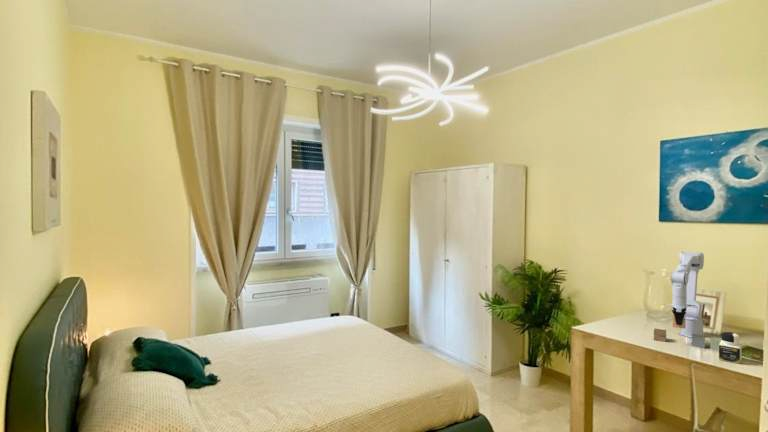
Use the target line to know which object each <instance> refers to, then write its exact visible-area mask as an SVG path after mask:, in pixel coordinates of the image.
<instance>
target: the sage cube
mask: <svg viewBox="0 0 768 432" xmlns="http://www.w3.org/2000/svg"><path fill="white" fill-rule="evenodd" d="M709 341H710V342H709V343H710V351H714V352H715V351H717V352H719V344H720V342H721V341H722V337H714V336H710V340H709Z"/></svg>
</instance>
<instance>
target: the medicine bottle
mask: <svg viewBox="0 0 768 432" xmlns="http://www.w3.org/2000/svg"><path fill="white" fill-rule="evenodd" d="M721 338H722V341H721V342H720V344H719V351H718V360H719V361H723V362H729V363H732V364H738V365H740V364H741V361H742V360H743V359H742V357H743V356H742V354H743V353H742V349H743V348H742V345H743V344H742V343H740V335H739V334H737V333H735V332H730V331H723V332H722V333H721Z"/></svg>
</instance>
